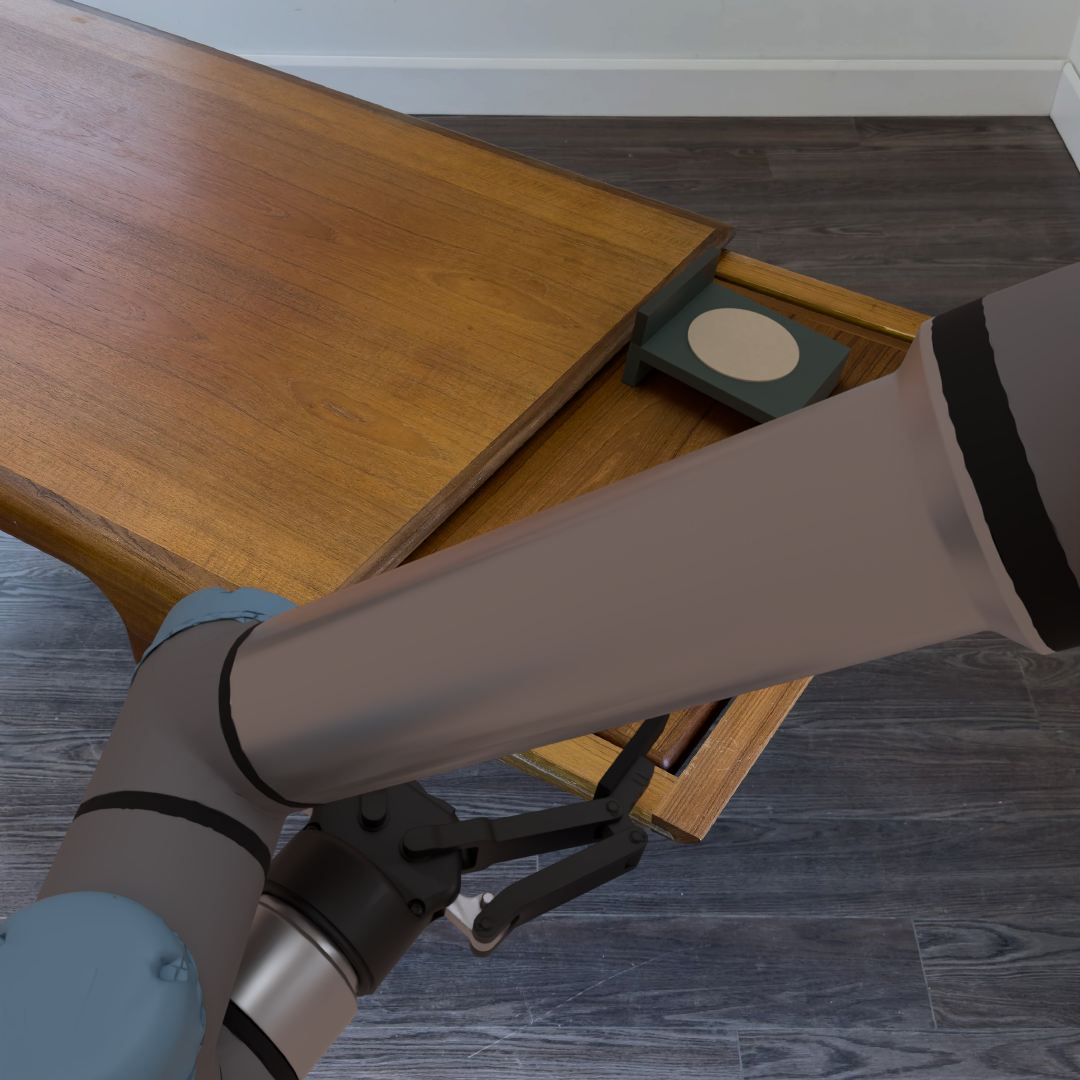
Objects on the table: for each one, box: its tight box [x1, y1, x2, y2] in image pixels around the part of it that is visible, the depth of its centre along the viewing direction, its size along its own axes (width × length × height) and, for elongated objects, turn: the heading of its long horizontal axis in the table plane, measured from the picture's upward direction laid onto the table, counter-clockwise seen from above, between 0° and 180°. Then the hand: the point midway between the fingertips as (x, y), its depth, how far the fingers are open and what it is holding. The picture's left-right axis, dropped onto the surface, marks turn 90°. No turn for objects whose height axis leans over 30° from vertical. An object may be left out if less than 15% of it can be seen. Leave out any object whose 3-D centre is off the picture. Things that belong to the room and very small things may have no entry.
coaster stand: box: [621, 245, 852, 425], centre depth 88 cm, size 14×12×7 cm
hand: (560, 649), depth 63 cm, fingers open, 13 cm apart
